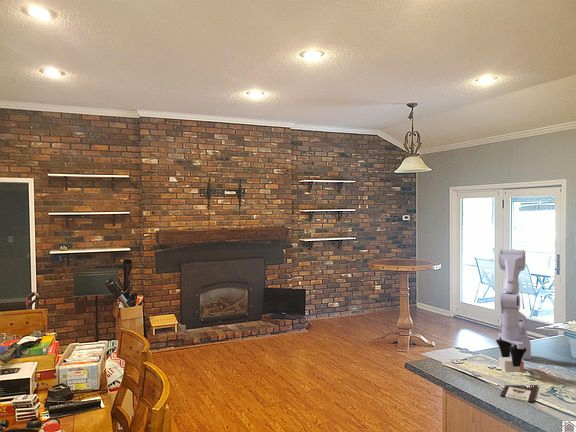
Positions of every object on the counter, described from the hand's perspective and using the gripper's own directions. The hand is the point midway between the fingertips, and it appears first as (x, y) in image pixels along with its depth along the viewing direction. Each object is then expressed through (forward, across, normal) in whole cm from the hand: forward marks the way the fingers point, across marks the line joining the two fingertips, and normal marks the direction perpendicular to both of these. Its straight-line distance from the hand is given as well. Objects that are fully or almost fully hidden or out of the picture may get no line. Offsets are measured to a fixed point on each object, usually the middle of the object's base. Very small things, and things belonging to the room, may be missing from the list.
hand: (511, 362), depth 156 cm
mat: (+3, +3, +5) cm, 7 cm away
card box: (+3, 0, 0) cm, 3 cm away
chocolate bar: (+4, -17, +6) cm, 18 cm away
